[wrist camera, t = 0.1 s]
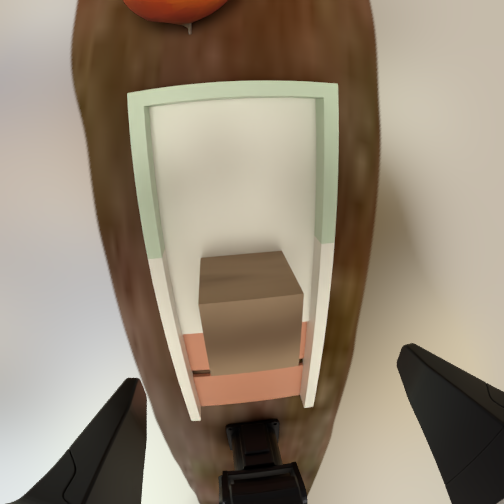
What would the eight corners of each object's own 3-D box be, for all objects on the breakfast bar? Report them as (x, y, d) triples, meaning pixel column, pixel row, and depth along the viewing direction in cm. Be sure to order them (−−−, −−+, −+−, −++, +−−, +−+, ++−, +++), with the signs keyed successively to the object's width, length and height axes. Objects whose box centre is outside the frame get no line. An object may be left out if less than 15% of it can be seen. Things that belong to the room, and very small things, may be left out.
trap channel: (307, 390, 31) (313, 406, 29) (191, 403, 30) (191, 420, 28) (324, 86, 19) (337, 83, 16) (136, 96, 17) (127, 93, 15)
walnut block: (281, 315, 25) (298, 365, 20) (209, 323, 25) (210, 376, 19) (281, 250, 23) (303, 293, 17) (200, 257, 22) (198, 304, 17)
